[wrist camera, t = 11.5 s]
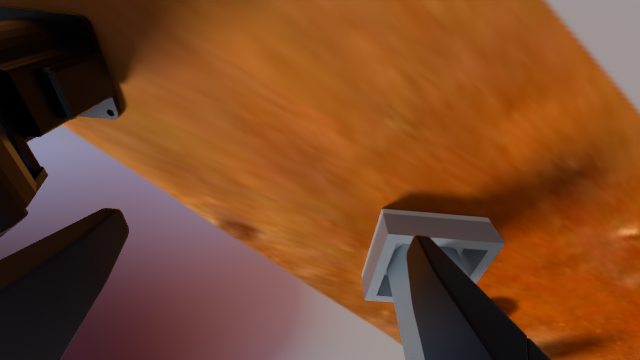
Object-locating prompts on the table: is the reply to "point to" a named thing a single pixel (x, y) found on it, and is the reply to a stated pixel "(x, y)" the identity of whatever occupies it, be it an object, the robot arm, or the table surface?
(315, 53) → the table surface
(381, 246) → the tray
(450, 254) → the tall grey rectangular prism
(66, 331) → the robot arm
